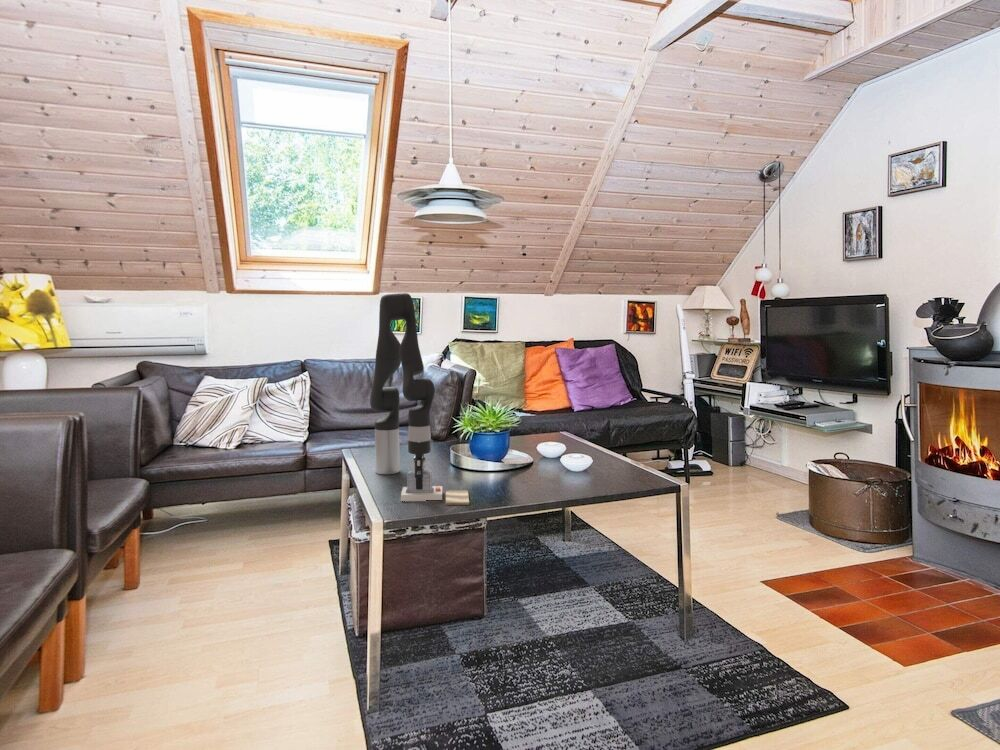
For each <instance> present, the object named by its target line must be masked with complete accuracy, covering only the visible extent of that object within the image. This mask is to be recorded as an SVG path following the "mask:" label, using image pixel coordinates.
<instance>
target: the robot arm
mask: <svg viewBox="0 0 1000 750" xmlns="http://www.w3.org/2000/svg"><path fill="white" fill-rule="evenodd" d="M378 311H379V315H378V316H379V318H378V320H379V321H378V323H379V324H378V325H379V326H378V339H377V344H376V351H375V362H374V373H373V374H374V375H373V380H372V386H371V391H370V396H369V398H370V399H369V401H370V403H369V404H370V408H371V410H372V411H374V412H388V413H387V415H385V416H384V417H382V418H379V419H377V420H376V421H375V422H374V442H375V443H374V450H375V451H374V452H375V453H374V454H375V455H374V456H375V458H374V459H375V461H374V462H375V463H374V464H375V473H376V474H378V475H393V474H398V473H399V472H400V401H401V400H400V399H401V398H400V391H399V389H398V388H397V387H396V386H387V387H386V386H385V384H386V382H387V381H388V380H389V379H390V378H391V377H392V376H393V375H394V374H395V372H397V371H398V369H399V367H400V366H401V367H402V380H403V381H402V394H403V397H404V398H405V399H406V400H407V401H409V402H415V401H416V402H417V401H420V402H419V404H418V405H417V406H414V407H410V408H409V409H408V430H407V452H408V453H409V454H410V455H415V456H414V457H413V461H412V462H413V471H414V472H415V479H416V489H417V490H422V489H423V472H424V471H425V468H426V461H427V460H426V459H427V458H426V456H425V455H426V454H429V453H430V454H431V444H432V443H431V440H432V439H431V434H432V432H431V426H430V416H431V415H430V414H431V408H432V405H433V401H434V397H435V393H436V392H435V391H436V389H435V385H434V384H435V383H434V382H433V381H432V380H431V379H429V378H420V379H418V378H417V379H415V378H414V377H415V376H418V375H420V374H421V373H423V371H424V370H425V367H424V363H423V358H422V354H421V351H420V346H419V341H418V340H419V339H418V330H417V321H416V319H417V318H416V313H415V305H414V301H413V298H412V295H410V294H409V293H407V292H402V293H401V292H399V293H397V292H396V293H385V294H383V295H382V296H381V297H380V301H379V310H378ZM401 320H403V321H405V331H404V335H403V337H402V340H401V343H400V341H399V339H398V338H397V336H396V334H394V332H393V330H392V327H391V323H392V322H393V321H401ZM417 472H421V474H417Z"/></svg>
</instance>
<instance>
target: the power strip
mask: <svg viewBox="0 0 1000 750" xmlns="http://www.w3.org/2000/svg"><path fill="white" fill-rule="evenodd" d="M426 500H442V501H443V485H438V486H437V483H432V493H408V487H407V486H402V489H401V492H400V502H402V501H403V502H404V501H405V502H427V501H426Z"/></svg>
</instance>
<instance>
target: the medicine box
mask: <svg viewBox="0 0 1000 750" xmlns="http://www.w3.org/2000/svg"><path fill="white" fill-rule="evenodd" d="M417 474H421V472H417ZM406 478H407V483H406V484H407V486H406V487H408V493H432V486H433V471H432V470H424V472H423V489H422V490H417V489H416V479H415V472H414V470H409V471H408V472H407V476H406Z"/></svg>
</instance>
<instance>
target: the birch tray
mask: <svg viewBox="0 0 1000 750" xmlns="http://www.w3.org/2000/svg"><path fill="white" fill-rule="evenodd" d="M469 498H470V496H469V491H468V489H466V490H445V506H466V505H467V506H468V505H470V499H469Z"/></svg>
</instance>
